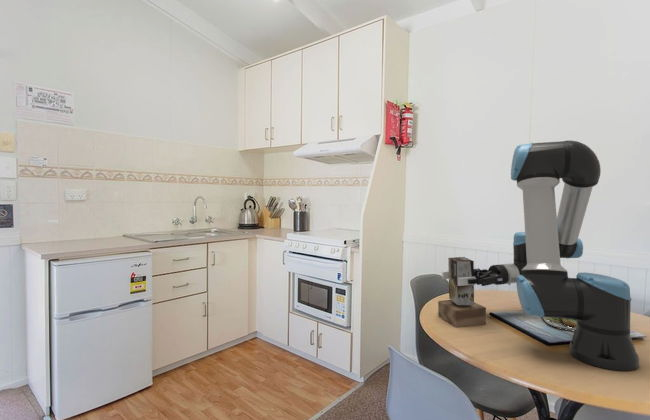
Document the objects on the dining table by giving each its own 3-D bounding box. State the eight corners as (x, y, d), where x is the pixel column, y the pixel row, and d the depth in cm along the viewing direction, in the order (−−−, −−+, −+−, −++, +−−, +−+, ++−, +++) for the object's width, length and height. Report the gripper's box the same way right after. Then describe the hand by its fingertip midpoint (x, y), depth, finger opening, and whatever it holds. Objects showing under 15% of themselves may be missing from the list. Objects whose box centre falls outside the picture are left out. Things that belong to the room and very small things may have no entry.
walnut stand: (486, 324, 124) (485, 307, 124) (456, 327, 122) (456, 310, 122) (466, 313, 136) (465, 298, 136) (438, 316, 134) (438, 300, 134)
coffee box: (474, 305, 124) (474, 261, 124) (457, 305, 124) (456, 261, 124) (465, 297, 133) (464, 256, 133) (448, 298, 133) (447, 256, 133)
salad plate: (614, 340, 109) (614, 325, 109) (548, 332, 116) (548, 319, 116) (594, 319, 127) (594, 307, 127) (538, 314, 134) (538, 302, 134)
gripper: (525, 291, 121) (469, 296, 117) (483, 277, 143) (435, 281, 139) (525, 270, 121) (468, 275, 117) (483, 259, 143) (434, 263, 138)
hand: (450, 278), depth 128 cm, fingers closed on coffee box, 10 cm apart
